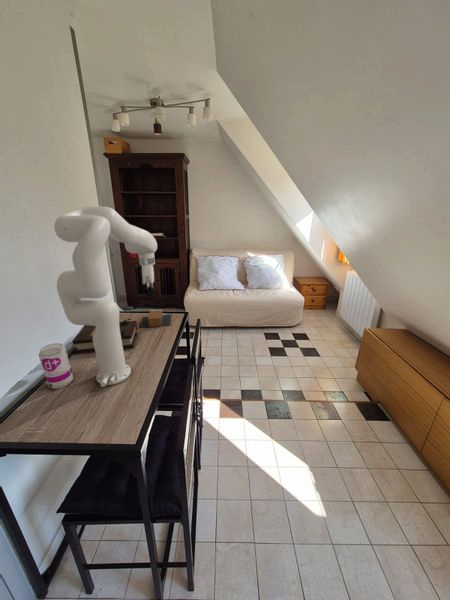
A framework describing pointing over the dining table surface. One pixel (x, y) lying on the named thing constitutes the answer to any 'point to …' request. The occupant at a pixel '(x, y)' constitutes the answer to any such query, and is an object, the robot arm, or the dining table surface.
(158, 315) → the cardboard box
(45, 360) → the supplement can
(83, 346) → the decorative book
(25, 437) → the dining table surface
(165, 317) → the slate mat
